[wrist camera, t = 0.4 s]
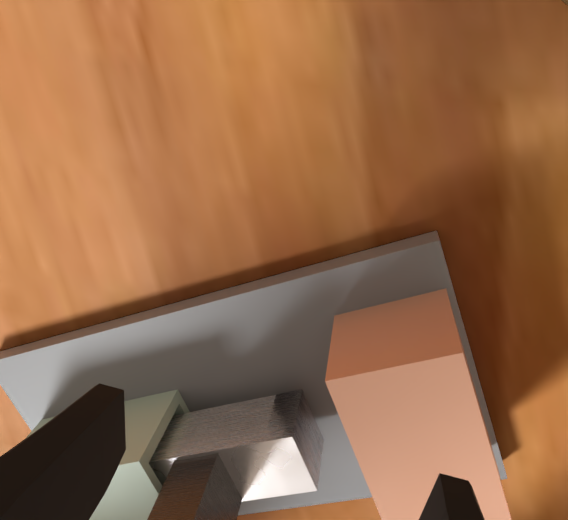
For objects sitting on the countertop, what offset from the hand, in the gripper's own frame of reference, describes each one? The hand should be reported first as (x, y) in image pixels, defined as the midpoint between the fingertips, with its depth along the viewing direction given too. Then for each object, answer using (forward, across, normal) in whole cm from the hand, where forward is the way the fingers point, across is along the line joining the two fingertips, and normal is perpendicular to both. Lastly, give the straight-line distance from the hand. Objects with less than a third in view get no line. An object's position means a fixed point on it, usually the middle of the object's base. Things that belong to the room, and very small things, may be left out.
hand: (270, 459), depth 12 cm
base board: (+10, +3, +9) cm, 14 cm away
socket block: (+10, -5, +5) cm, 12 cm away
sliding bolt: (+9, +5, +11) cm, 15 cm away
